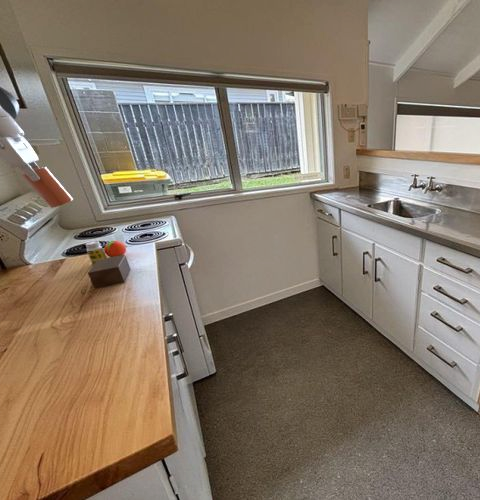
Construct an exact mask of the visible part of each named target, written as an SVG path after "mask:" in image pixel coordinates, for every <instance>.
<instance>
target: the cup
mask: <svg viewBox="0 0 480 500" xmlns="http://www.w3.org/2000/svg"><path fill="white" fill-rule="evenodd" d="M34 172H35V173H37V174H38V176H39V177H40V180H37V181H32V180H31V179H30V178H29V177H28V176H27V175H26V174H25V173H24V172H22V173H21V174H20V176H22V178H24V180H25V181H26V182H27V183H28V184H29V185H30V187H31V188H32V189H34V191H35V192H36V193H37V194H38V195H39V196H40V197H41V198H42V199H43V201H44V202H45V203H46V204H47V205H48V206H49V207H50V208H51V209H54V208H57V207H60V206H63V205H65V204H67V203H71V202H72V201H74V198H73V197H72V196H71V194H70V193H69V192H68V191H67V190H66V188H65V187H64V186H63V185H62V184H61V182H60V181H59V180H58V179H57V178H56V177H55V176H54V174H53V173H52V172H51V171H50V170H49V168H48V167H47V166H42V167H39V168H38V169H35V170H34Z"/></svg>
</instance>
